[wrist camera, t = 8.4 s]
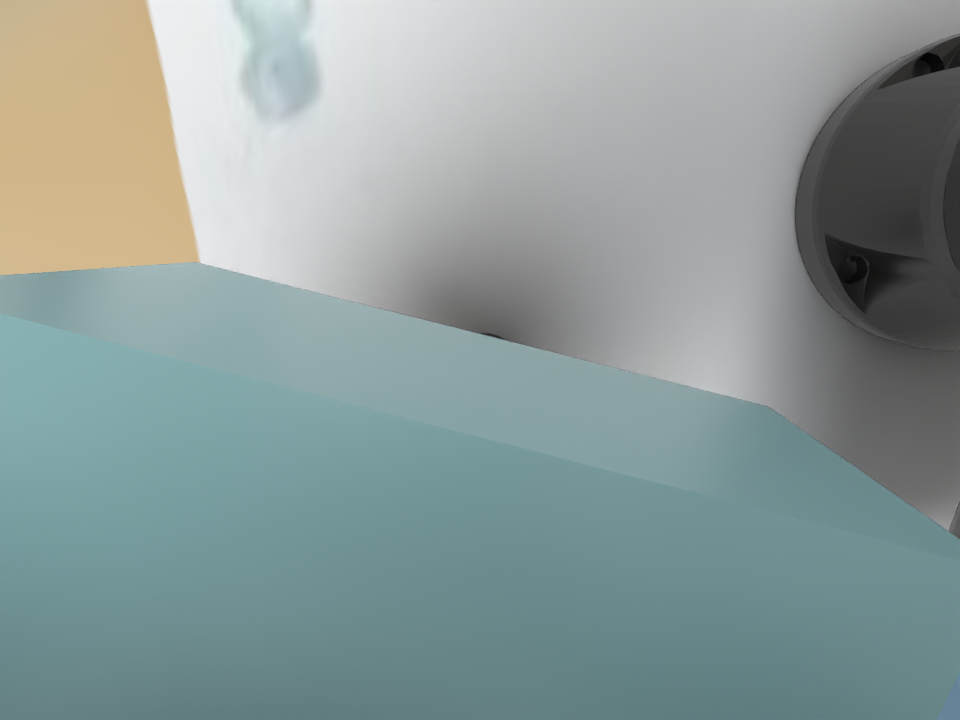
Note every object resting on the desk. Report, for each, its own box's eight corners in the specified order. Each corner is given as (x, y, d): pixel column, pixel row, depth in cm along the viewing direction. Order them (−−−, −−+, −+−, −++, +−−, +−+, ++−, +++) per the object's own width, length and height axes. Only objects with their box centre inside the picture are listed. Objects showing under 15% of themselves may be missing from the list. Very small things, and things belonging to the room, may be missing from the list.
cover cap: (768, 406, 12) (1008, 573, 6) (601, 864, 14) (652, 1298, 8) (195, 261, 12) (-118, 283, 6) (132, 735, 15) (-132, 1066, 9)
